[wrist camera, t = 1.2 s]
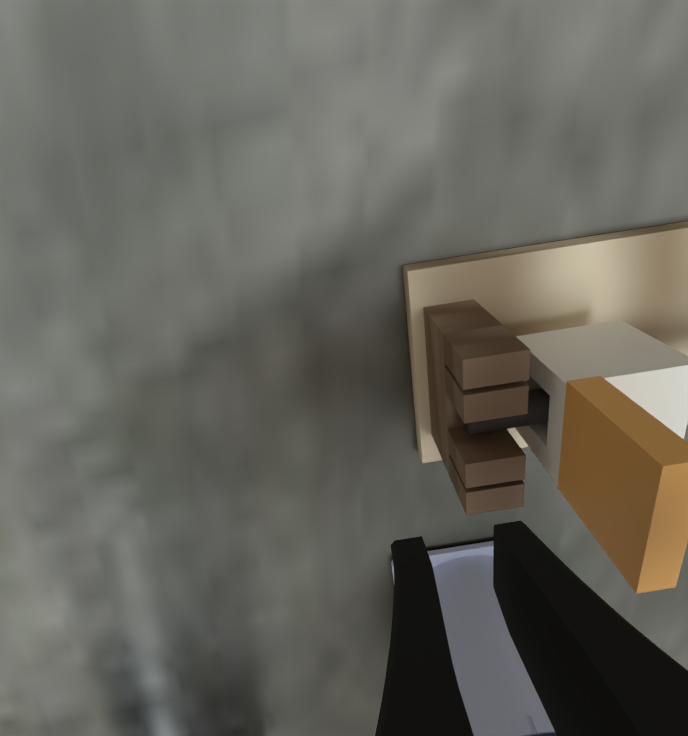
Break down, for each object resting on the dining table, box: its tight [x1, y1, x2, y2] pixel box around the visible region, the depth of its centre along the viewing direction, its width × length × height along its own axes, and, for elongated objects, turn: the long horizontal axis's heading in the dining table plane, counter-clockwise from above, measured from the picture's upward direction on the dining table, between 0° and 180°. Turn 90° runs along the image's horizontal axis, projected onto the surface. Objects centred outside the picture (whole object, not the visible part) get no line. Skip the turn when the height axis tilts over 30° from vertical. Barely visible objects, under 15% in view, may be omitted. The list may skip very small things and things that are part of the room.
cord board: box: [403, 221, 688, 515], centre depth 17 cm, size 18×9×6 cm, turn 98°
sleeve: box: [515, 320, 688, 593], centre depth 14 cm, size 4×4×8 cm
